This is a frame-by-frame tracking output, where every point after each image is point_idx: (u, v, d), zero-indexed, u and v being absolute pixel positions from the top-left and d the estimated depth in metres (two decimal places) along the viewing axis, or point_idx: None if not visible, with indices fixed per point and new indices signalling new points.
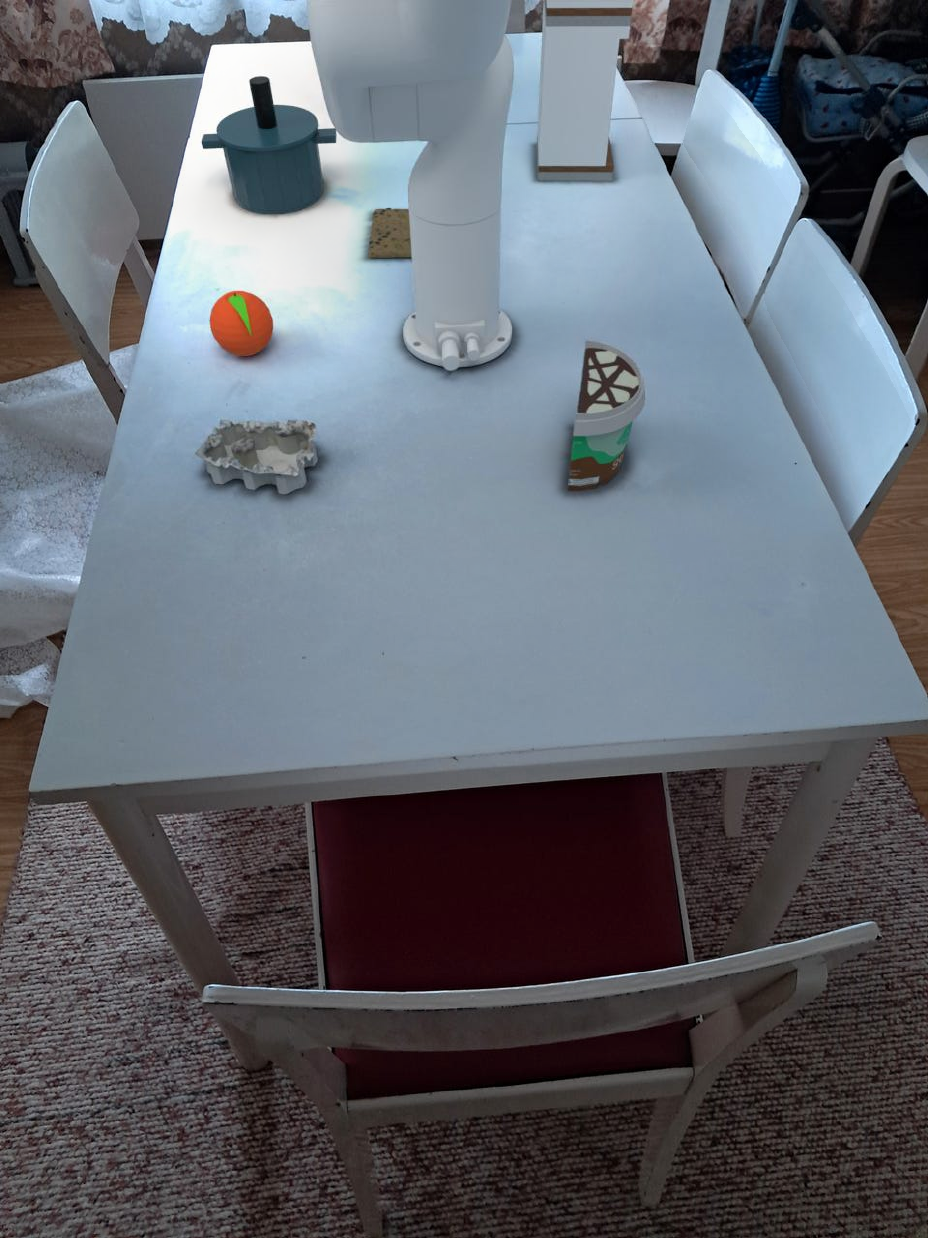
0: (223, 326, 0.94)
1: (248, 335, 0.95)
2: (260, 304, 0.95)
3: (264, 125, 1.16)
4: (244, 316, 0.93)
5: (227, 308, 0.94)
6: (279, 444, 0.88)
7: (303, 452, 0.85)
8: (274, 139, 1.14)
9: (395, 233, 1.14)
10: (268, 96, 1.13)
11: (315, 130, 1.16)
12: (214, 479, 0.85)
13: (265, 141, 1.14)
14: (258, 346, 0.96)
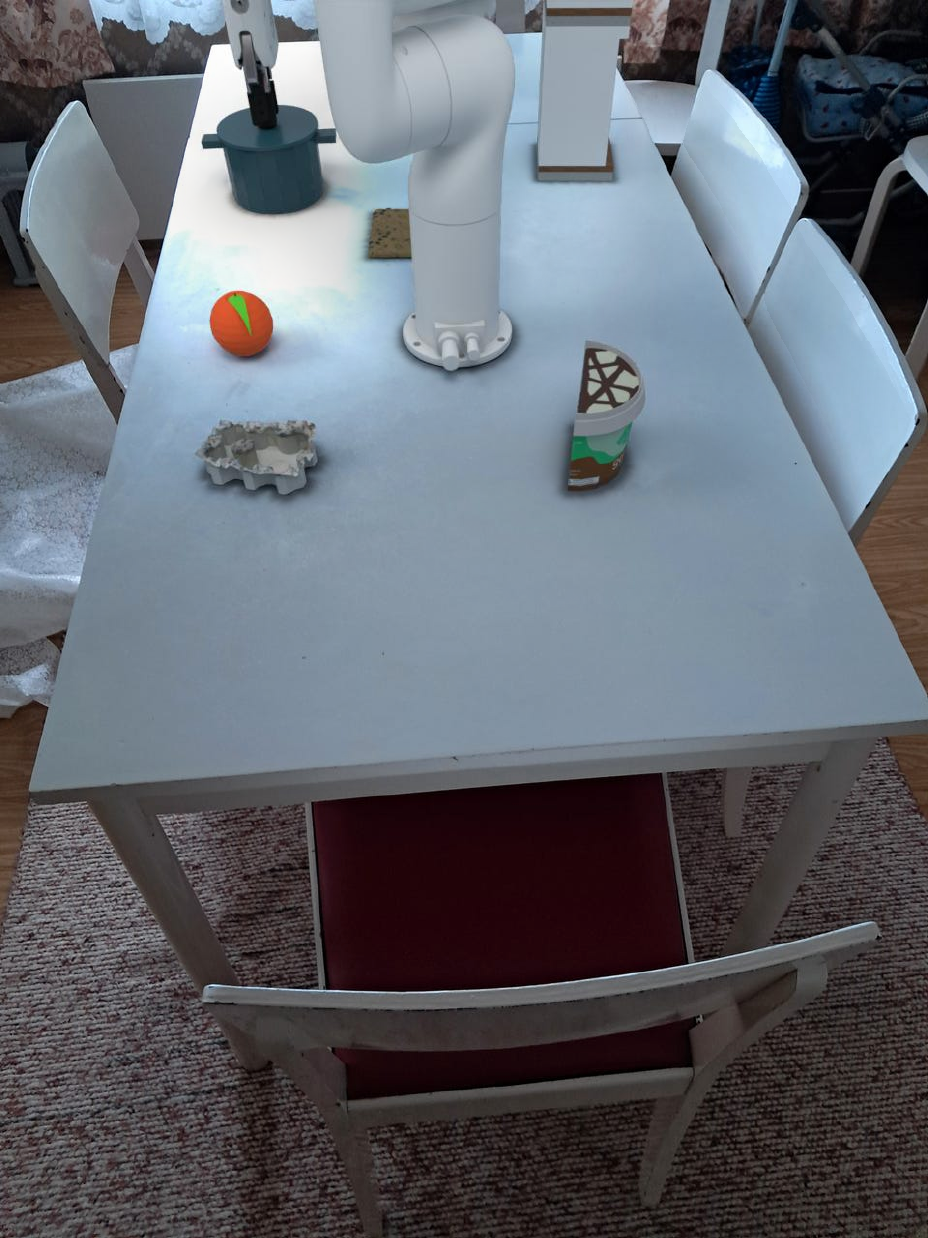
0: (223, 326, 0.94)
1: (248, 335, 0.95)
2: (260, 304, 0.95)
3: None
4: (244, 316, 0.93)
5: (227, 308, 0.94)
6: (279, 444, 0.88)
7: (303, 452, 0.85)
8: (274, 139, 1.14)
9: (395, 233, 1.14)
10: None
11: (315, 130, 1.16)
12: (214, 479, 0.85)
13: (265, 141, 1.14)
14: (258, 346, 0.96)
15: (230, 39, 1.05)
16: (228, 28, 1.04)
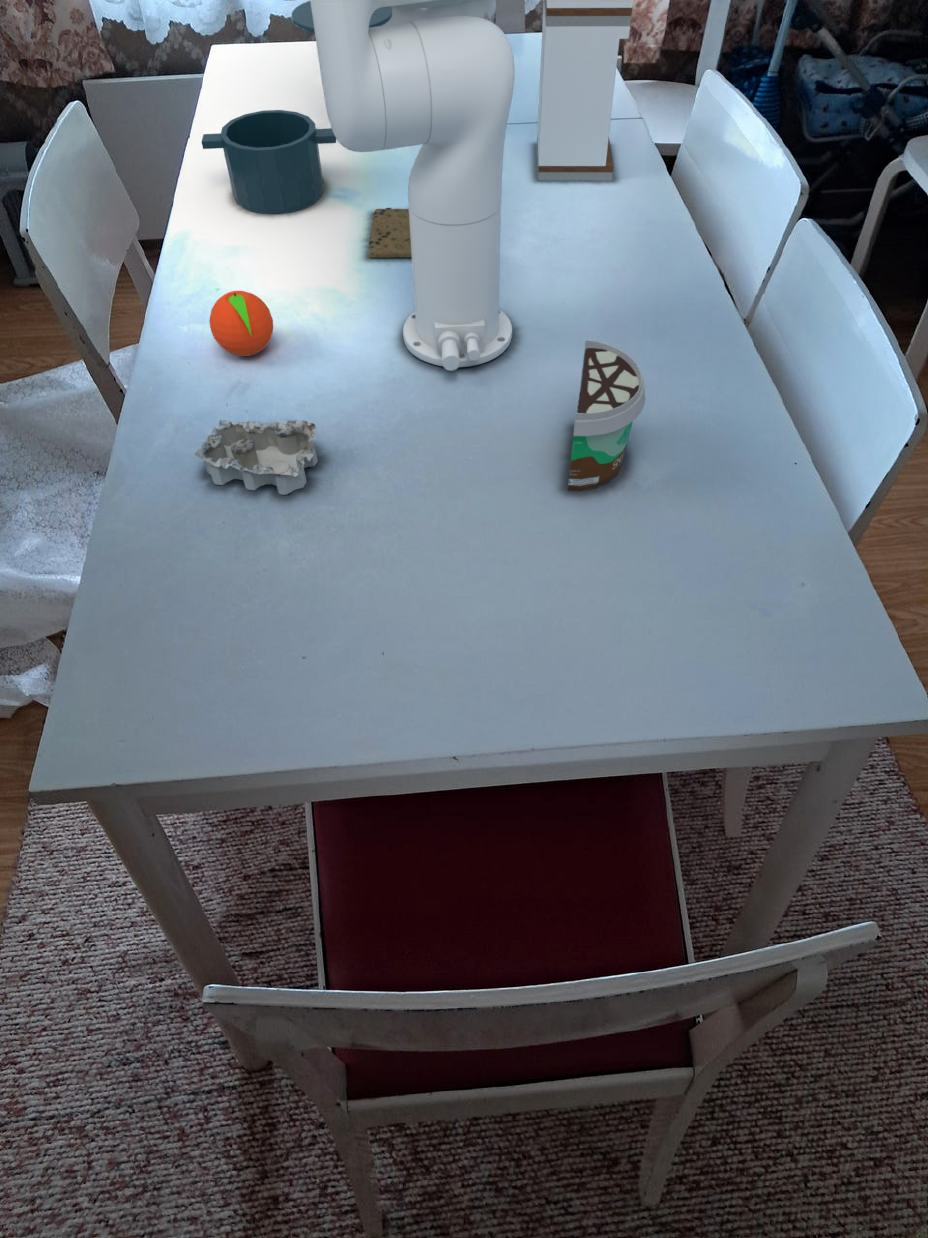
0: (223, 326, 0.94)
1: (248, 335, 0.95)
2: (260, 304, 0.95)
3: None
4: (244, 316, 0.93)
5: (227, 308, 0.94)
6: (279, 444, 0.88)
7: (303, 452, 0.85)
8: None
9: (395, 233, 1.14)
10: None
11: (390, 16, 1.17)
12: (214, 480, 0.85)
13: None
14: (258, 346, 0.96)
15: None
16: None
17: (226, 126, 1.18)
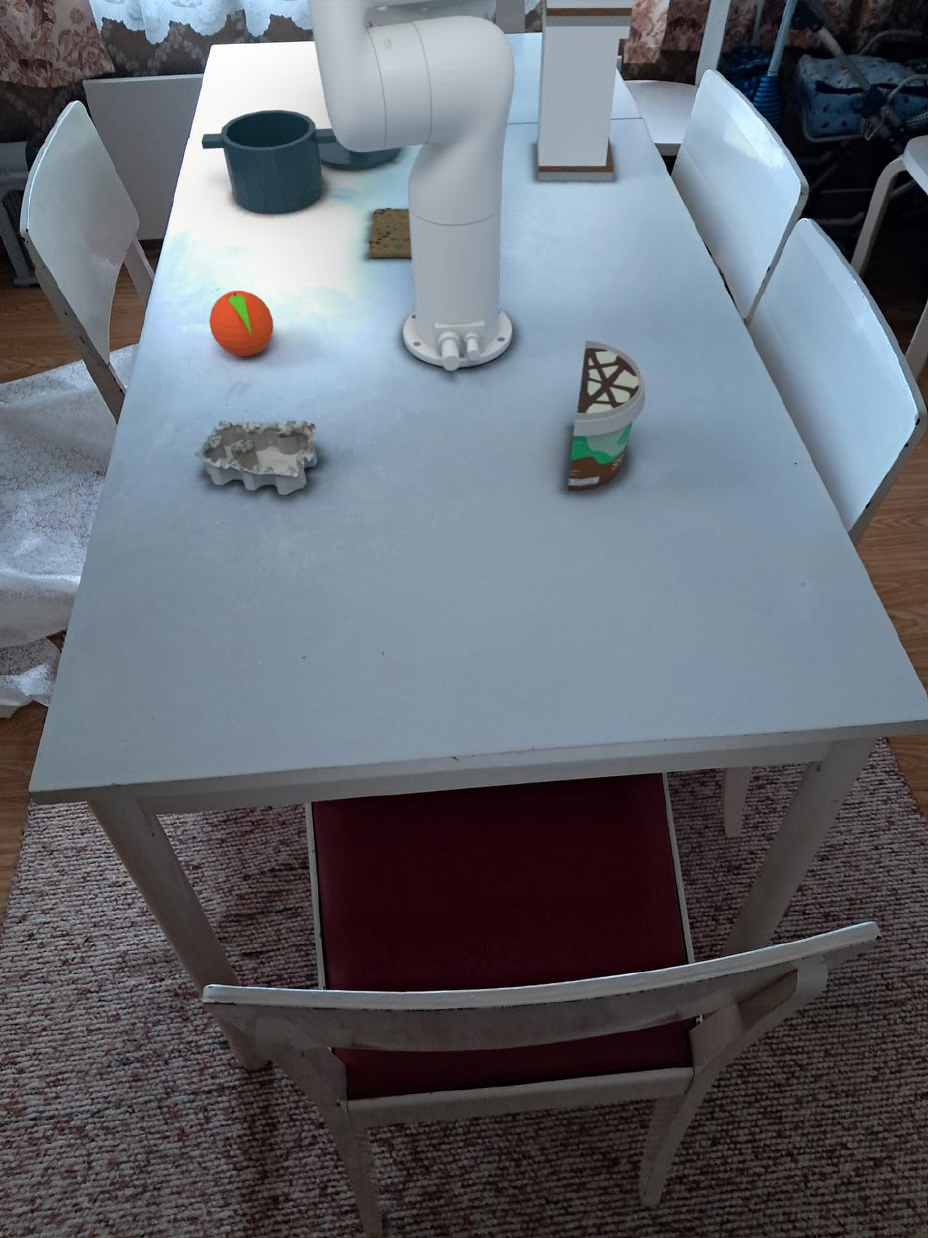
0: (223, 326, 0.94)
1: (248, 335, 0.95)
2: (260, 304, 0.95)
3: None
4: (244, 316, 0.93)
5: (227, 308, 0.94)
6: (279, 445, 0.88)
7: (303, 453, 0.85)
8: (364, 157, 1.28)
9: (395, 233, 1.14)
10: None
11: (399, 149, 1.30)
12: (214, 480, 0.85)
13: (356, 159, 1.28)
14: (258, 346, 0.96)
15: None
16: None
17: (226, 126, 1.18)
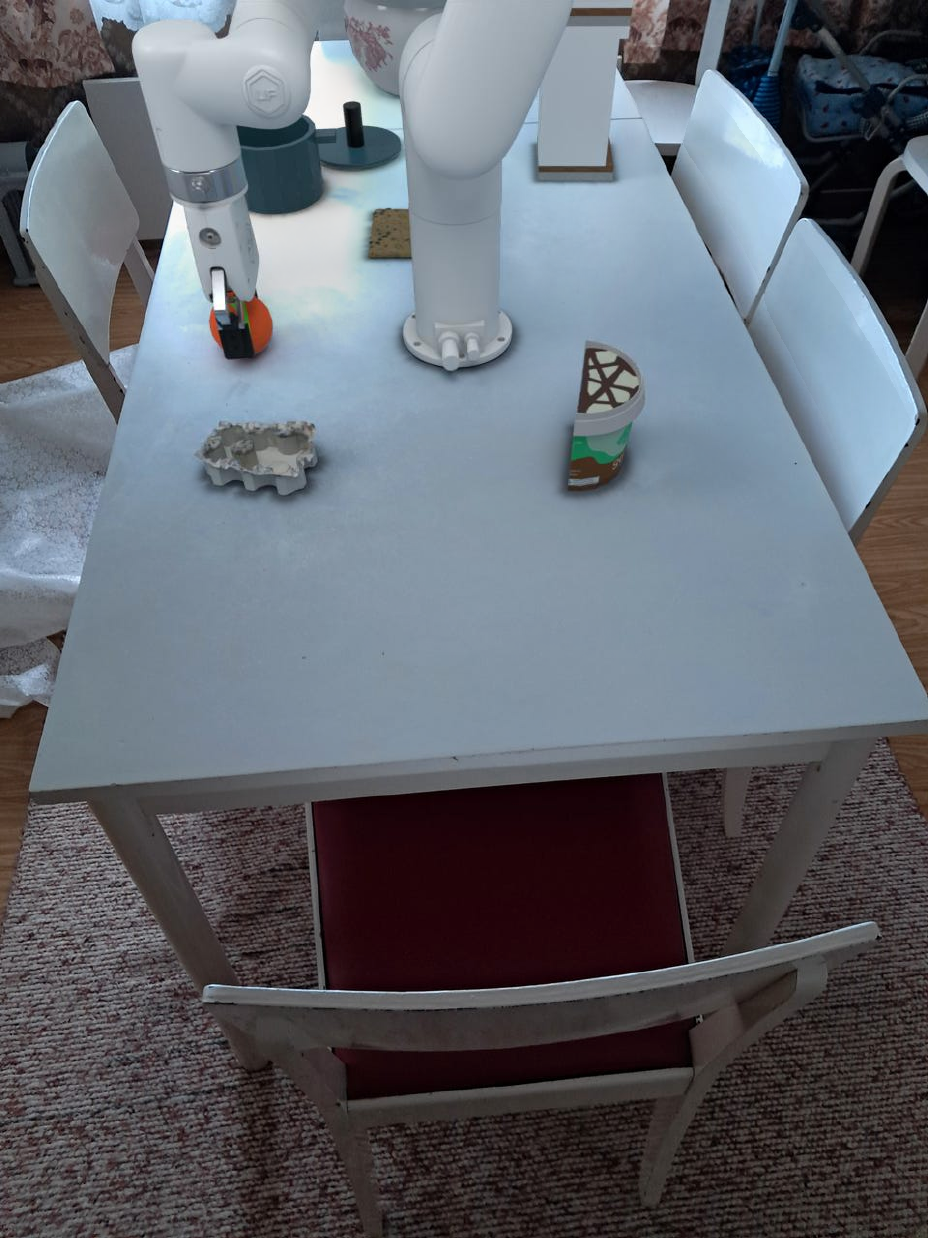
0: None
1: None
2: (260, 304, 0.95)
3: (354, 144, 1.30)
4: (244, 317, 0.93)
5: None
6: (278, 445, 0.87)
7: (303, 453, 0.85)
8: (364, 157, 1.28)
9: (395, 233, 1.14)
10: (359, 119, 1.27)
11: (399, 149, 1.30)
12: (214, 480, 0.85)
13: (356, 159, 1.28)
14: (258, 346, 0.96)
15: (199, 274, 0.87)
16: (197, 263, 0.86)
17: None
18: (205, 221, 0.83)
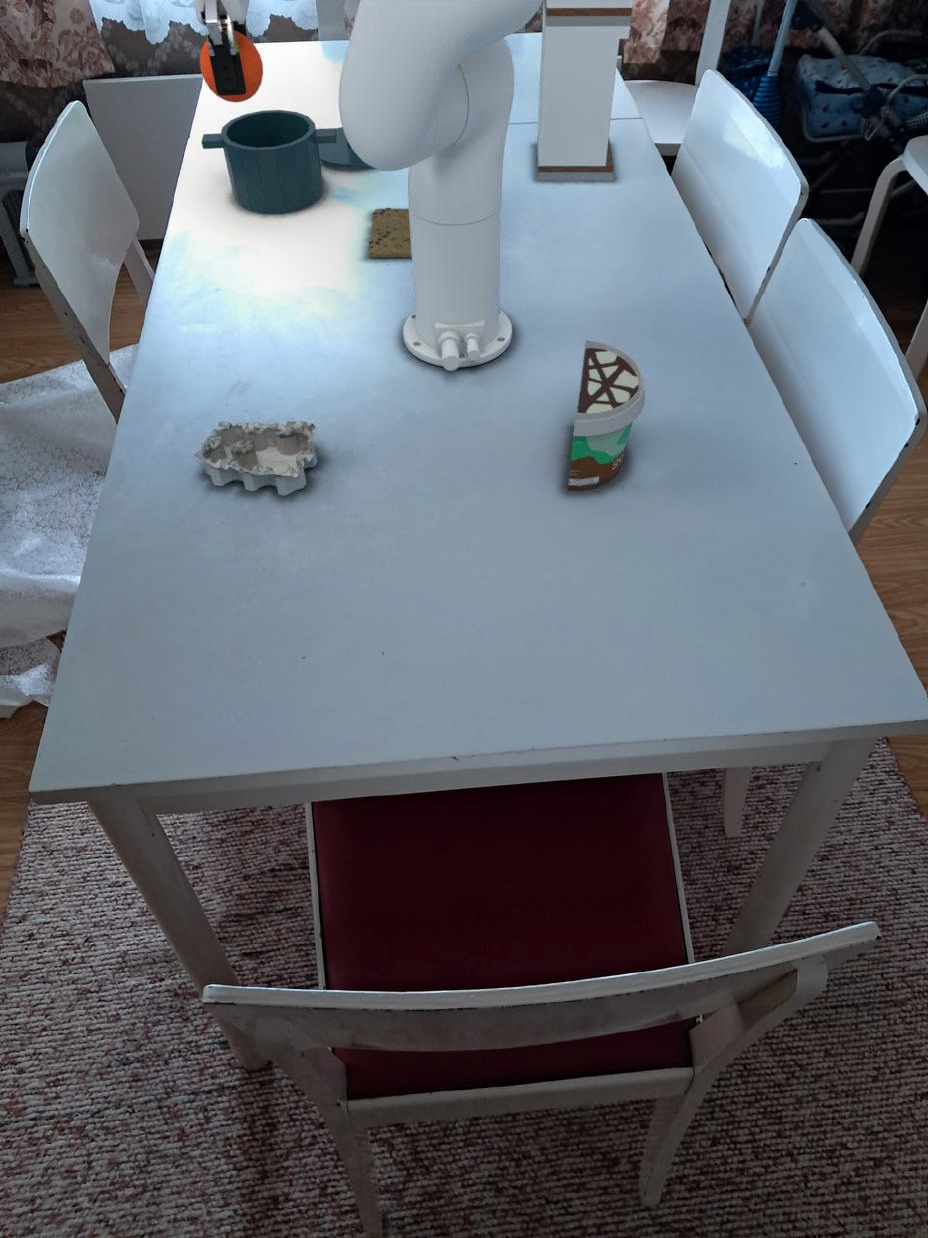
0: None
1: None
2: (250, 42, 0.96)
3: None
4: None
5: None
6: (278, 445, 0.87)
7: (303, 453, 0.85)
8: None
9: (395, 233, 1.14)
10: None
11: None
12: (214, 481, 0.85)
13: (356, 159, 1.28)
14: (249, 87, 0.97)
15: None
16: None
17: (226, 126, 1.18)
18: None
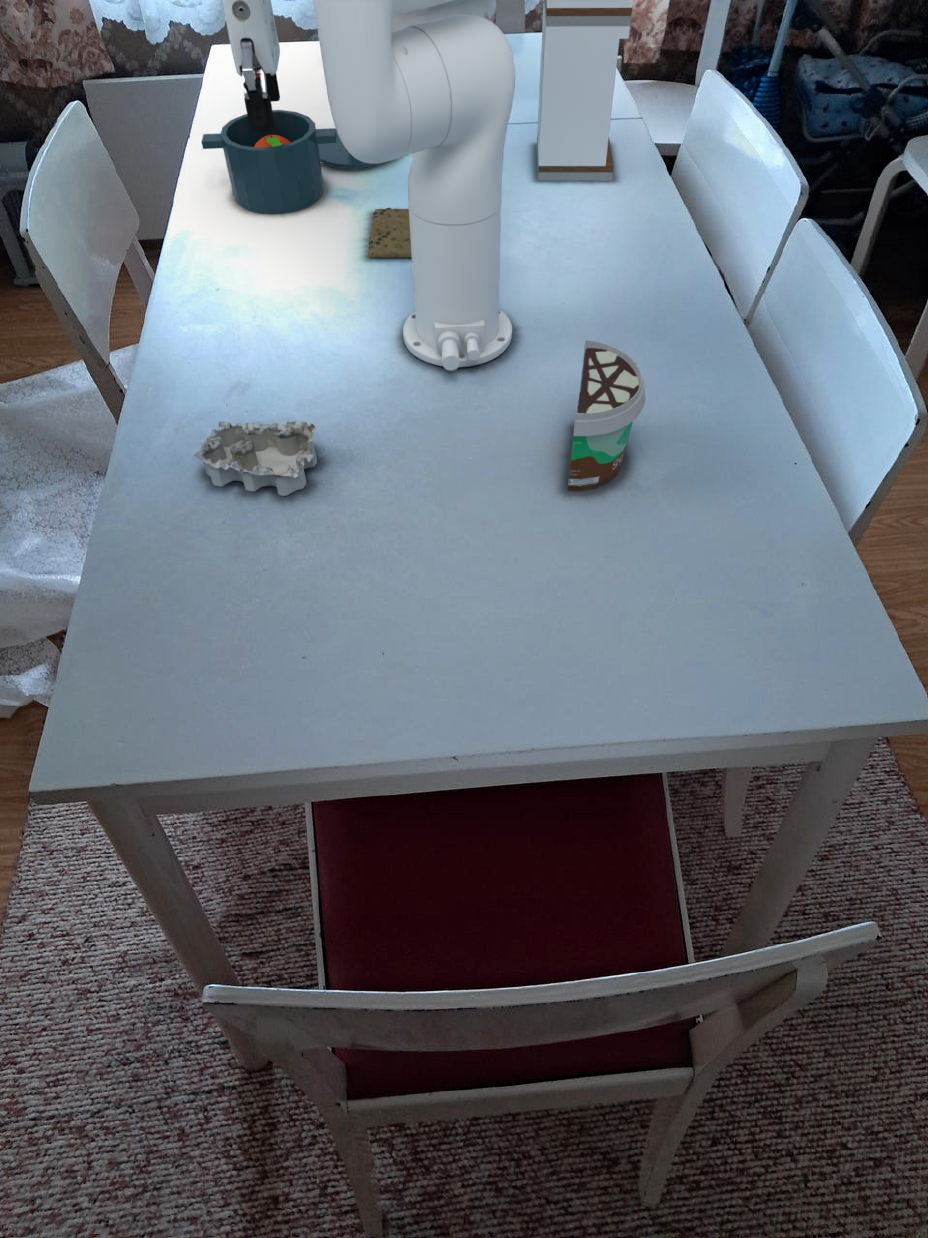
0: None
1: None
2: None
3: None
4: None
5: (265, 146, 1.17)
6: (278, 445, 0.87)
7: (303, 453, 0.85)
8: None
9: (395, 233, 1.14)
10: None
11: None
12: (214, 481, 0.85)
13: (356, 159, 1.28)
14: None
15: (232, 46, 1.05)
16: (230, 35, 1.04)
17: (226, 126, 1.18)
18: None
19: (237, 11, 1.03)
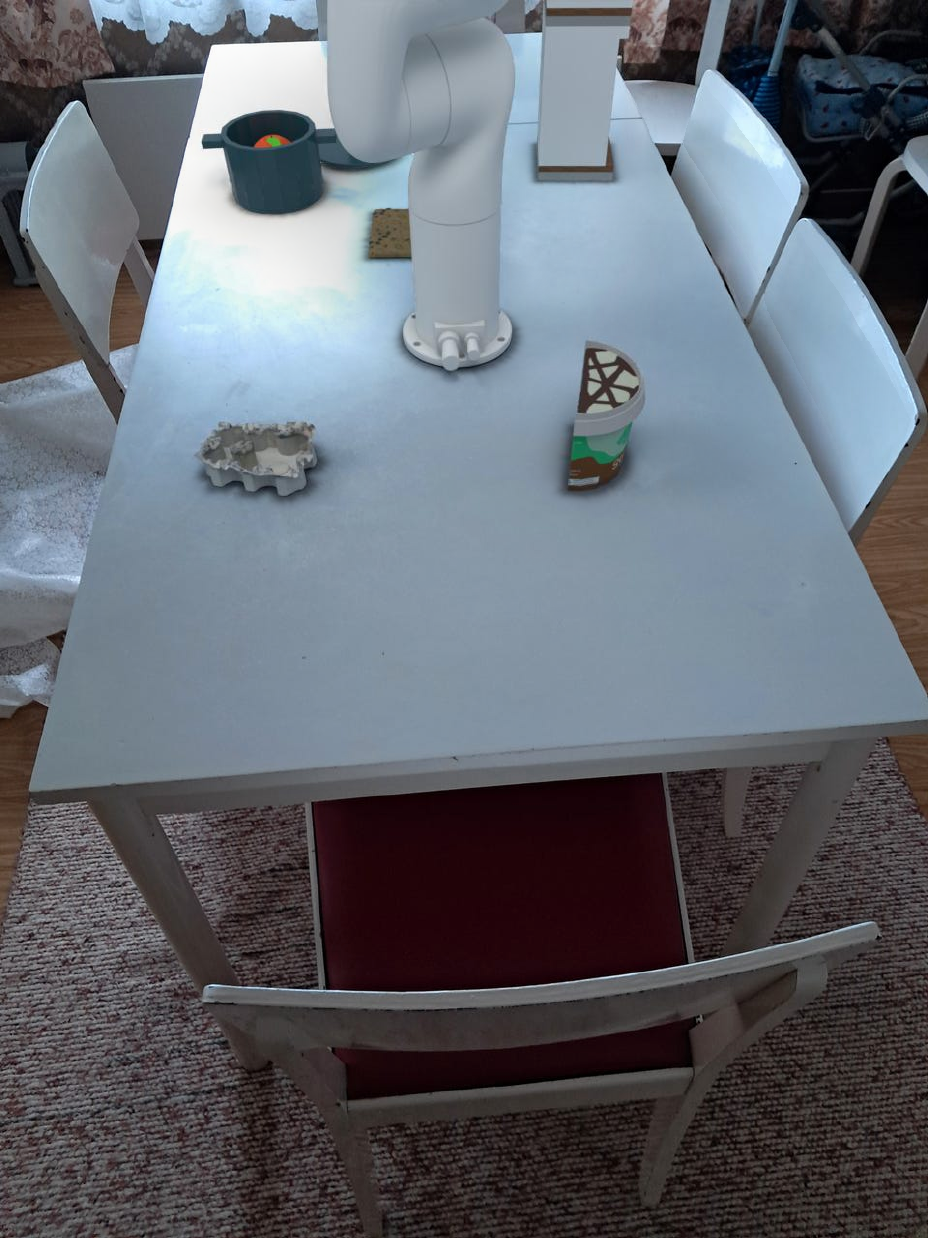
0: None
1: None
2: None
3: None
4: None
5: (265, 146, 1.17)
6: (278, 446, 0.87)
7: (303, 453, 0.85)
8: None
9: (395, 233, 1.14)
10: None
11: None
12: (213, 481, 0.85)
13: (356, 159, 1.28)
14: None
15: None
16: None
17: (226, 126, 1.18)
18: None
19: None
